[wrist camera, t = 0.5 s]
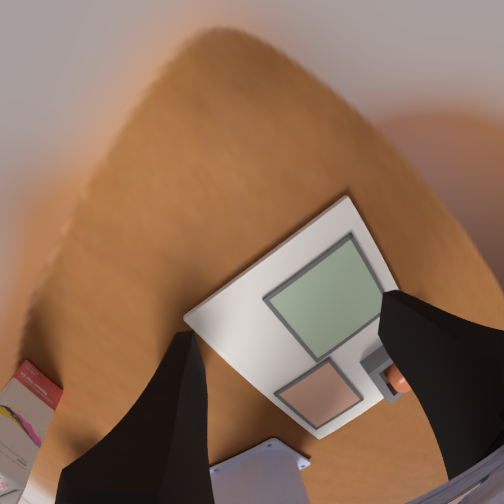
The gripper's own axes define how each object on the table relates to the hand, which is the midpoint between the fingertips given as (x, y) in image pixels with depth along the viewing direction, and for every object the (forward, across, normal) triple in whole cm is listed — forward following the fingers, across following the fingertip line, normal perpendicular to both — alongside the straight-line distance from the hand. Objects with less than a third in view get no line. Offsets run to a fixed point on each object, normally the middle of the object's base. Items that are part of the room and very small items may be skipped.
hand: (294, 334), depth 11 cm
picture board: (+10, -5, +10) cm, 15 cm away
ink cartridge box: (+10, +24, +12) cm, 28 cm away
